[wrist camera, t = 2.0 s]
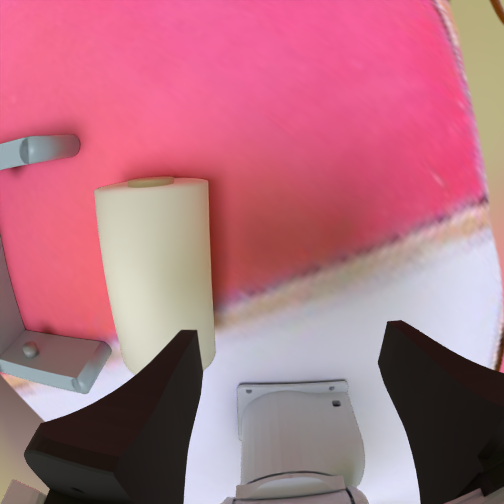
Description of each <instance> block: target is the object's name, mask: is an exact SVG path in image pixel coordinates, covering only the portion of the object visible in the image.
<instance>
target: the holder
mask: <svg viewBox="0 0 504 504" xmlns="http://www.w3.org/2000/svg"><path fill="white" fill-rule="evenodd" d="M79 149H80V141H79V139H78V137H77V136H75V135H48V136H29V137H25V138H21V139H17V140H13V141H10V142H6V143H2V144H0V170H2V169H7V168H12V167H17V166H22V165H27V164H32V163H37V162H43V161H49V160H55V159H61V158H68V157H73V156H75V155H76V154H77V153H78V151H79ZM110 354H111V348H110V347H109V345H108V344H106V343H105V342H102V341H94V340H86V339H79V338H72V337H65V336H58V335H52V334H46V333H40V332H34V331H29V330H25V327H24V324H23V321H22V318H21V315H20V312H19V309H18V306H17V302H16V299H15V296H14V292H13V288H12V285H11V281H10V277H9V273H8V269H7V265H6V260H5V256H4V251H3V246H2V241H1V236H0V372H3V373H6V374H9V375H13V376H16V377H19V378H22V379H26V380H29V381H33V382H36V383H40V384H44V385H48V386H52V387H56V388H60V389H64V390H68V391H73V392H77V393H82V394H87V393H89V391H90V389H91V388H92V386H93V384H94V382H95V380H96V379H97V377H98V375H99V373H100V372H101V370H102V368H103V366H104V365H105V363H106V361H107V359H108V358H109V356H110Z"/></svg>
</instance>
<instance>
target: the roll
mask: <svg viewBox="0 0 504 504" xmlns="http://www.w3.org/2000/svg"><path fill="white" fill-rule="evenodd" d="M94 194H95V205H96V215H97V224H98V232H99V240H100V247H101V254H102V261H103V267H104V273H105V279H106V284H107V290H108V295H109V300H110V305H111V310H112V314H113V319H114V323H115V328H116V332H117V336H118V340H119V344H120V348H121V352H122V356H123V360H124V363H125V365H126V367H127V368H128V369H129V370H130V371H131V372H132V373H133V374H135V375H136V374H137V373H139V372H140V371H141V370H142V369H143V368H144V367H145V366H146V365H147V364H149V363H150V362H151V361H152V360H153V359H154V358H155V357H156V356H157V355H158V354H159V352H160V351H161V350H162V349H163V348H164V347H165V346H166V345H167V344H168V343H169V342H170V341H171V340H172V339H173V338H174V336H175V335H176V334H177V333H178V332H179V331H180V330H197V332H198V340H199V347H200V354H201V360H202V367H203V371H204V370H205V369H206V368H207V367H208V366H209V365H210V364H211V363H212V361H213V359H214V357H215V353H216V347H215V332H214V316H213V298H212V278H211V255H210V227H209V188H208V180H205V179H199V178H174V177H171V176H156V177H144V178H137V179H132V180H128V182H121V183H116V184H111V185H107V186H103V187H100V188H98V189H96V190H95V191H94Z"/></svg>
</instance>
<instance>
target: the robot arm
mask: <svg viewBox="0 0 504 504" xmlns="http://www.w3.org/2000/svg"><path fill="white" fill-rule="evenodd" d="M378 365H379V368H380V372H381V375H382V378H383V381H384V384H385V386H386V389H387V391H388V393H389V395H390V397H391V400H392V402H393V404H394V406H395V408H396V410H397V412H398V415H399V417H400V419H401V421H402V423H403V426H404V428H405V431H406V434H407V437H408V441H409V444H410V448H411V451H412V455H413V459H414V464H415V468H416V473H417V479H418V485H419V492H420V501H421V504H504V373H501V372H498V371H495V370H492V369H489V368H487V367H484V366H481V365H479V364H477V363H475V362H472V361H470V360H468V359H466V358H464V357H462V356H460V355H458V354H457V353H455V352H453V351H451V350H449V349H448V348H446V347H444V346H443V345H441V344H439V343H438V342H436V341H434V340H433V339H431V338H430V337H428V336H427V335H425V334H423V333H422V332H420V331H419V330H417V329H416V328H414V327H412V326H411V325H409V324H407V323H406V322H404V321H402V320H398V321H388V322H387V325H386V330H385V334H384V339H383V343H382V347H381V352H380V356H379V360H378ZM202 378H203V367H202V360H201V354H200V347H199V340H198V332H197V330H180V331H179V332H178V333H177V334H176V335H175V336H174V338H173V339H172V340H171V341H170V342H169V343H168V344H167V345H166V346H165V347H164V348H163V349H162V350H161V351H160V352H159V354H158V355H157V356H156V357H155V358H154V359H153V360H152V361H151V362H150V363H149V364H147V365H146V366H145V367H144V368H143V369H142V370H141V371H140V372H139V373H137V374H136V375H135V376H134V377H133V378H131V379H130V380H129V381H128V382H126V383H125V384H123V385H122V386H121V387H119V388H118V389H116V390H115V391H113V392H112V393H110V394H108V395H107V396H105V397H103V398H101V399H100V400H98V401H96V402H95V403H93V404H91V405H89V406H87V407H84V408H82V409H80V410H78V411H76V412H73V413H71V414H68V415H66V416H63V417H60V418H57V419H54V420H51V421H47V422H44V423H41V424H40V426H39V427H38V429H37V430H36V432H35V434H34V436H33V437H32V439H31V441H30V443H29V445H28V446H27V448H26V450H25V452H24V457H25V460H26V462H27V464H28V465H29V467H30V468H31V469H32V470H33V471H34V473H35V474H36V475H37V476H38V477H39V478H40V479H41V480H42V481H43V482H44V483H45V484H46V485H47V487H49V489H50V490H49V493H48V495H47V496H46V495H45V494H43V493H42V492H40V491H38V490H36V489H34V488H32V487H29V486H27V485H25V484H23V483H21V482H19V481H17V480H12V482H11V483H10V485H9V487H8V489H7V492H6V494H5V496H4V498H3V500H2V502H1V504H183V503H184V486H185V474H186V464H187V455H188V447H189V442H190V437H191V433H192V429H193V425H194V421H195V417H196V412H197V408H198V404H199V400H200V395H201V388H202ZM332 386H333V387H332ZM330 387H331V388H330ZM248 389H250V390H248ZM347 389H348V384H347V382H346V381H336V382H322V383H304V384H271V385H239V386H238V387H237V404H238V431H239V440H240V441H242V449H241V485H237V486H236V498H235V497H227V498H226V499H225V500H224V501H223V502H222V503H221V504H369V503H368V500H367V498H366V496H365V495H364V494H363V492H361V491H360V490H358V489H357V488H356V487H357V486H358V485H359V484H360V482H361V480H362V477H363V473H364V468H365V453H364V445H363V440H362V437H361V433H360V430H359V427H358V424H357V421H356V418H355V415H354V412H353V409H352V406H351V403H350V400H349V397H348V394H347Z"/></svg>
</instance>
